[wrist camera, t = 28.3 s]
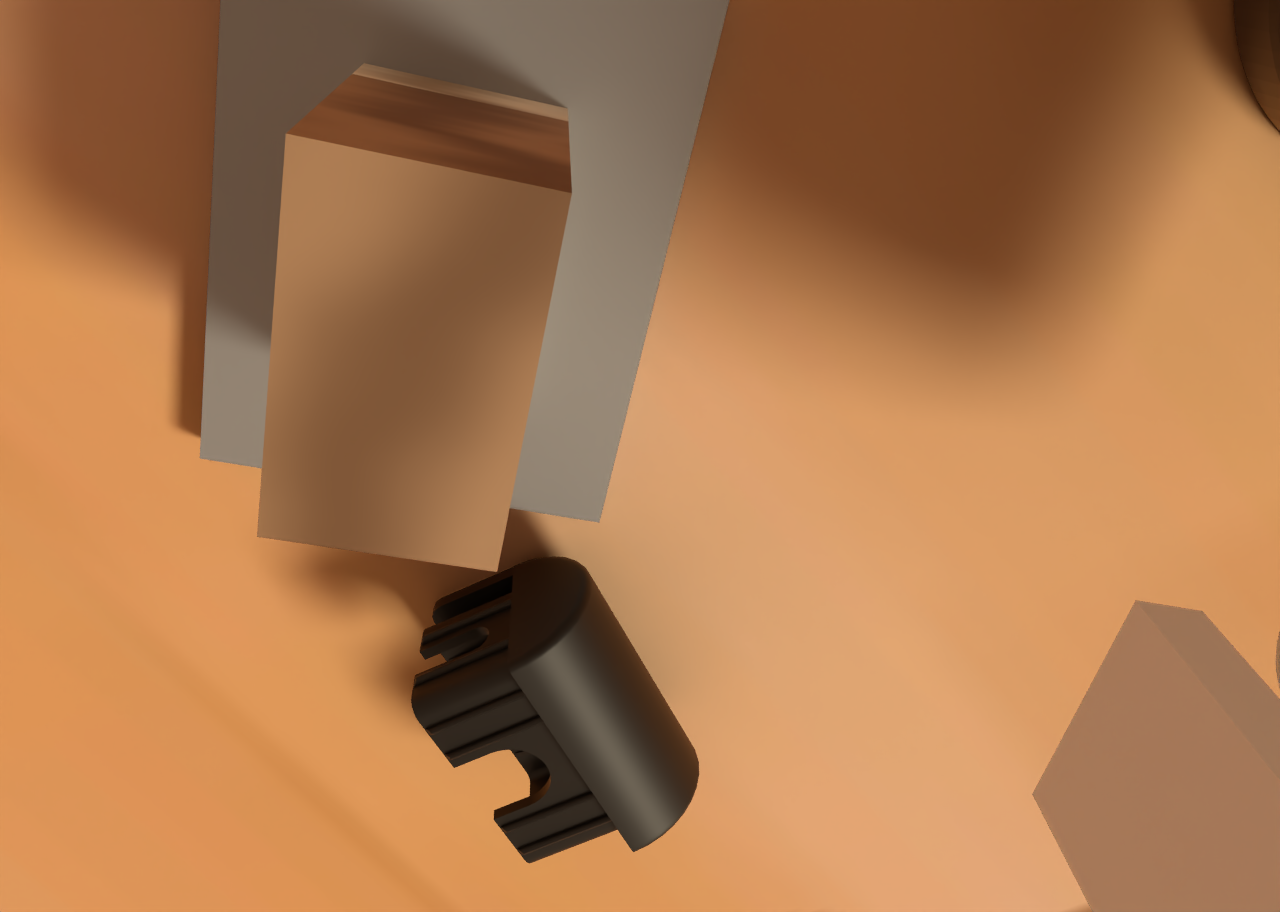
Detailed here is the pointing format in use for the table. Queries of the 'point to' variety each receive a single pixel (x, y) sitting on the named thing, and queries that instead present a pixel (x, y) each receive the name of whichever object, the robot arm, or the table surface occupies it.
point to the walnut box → (409, 315)
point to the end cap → (555, 708)
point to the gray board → (597, 218)
